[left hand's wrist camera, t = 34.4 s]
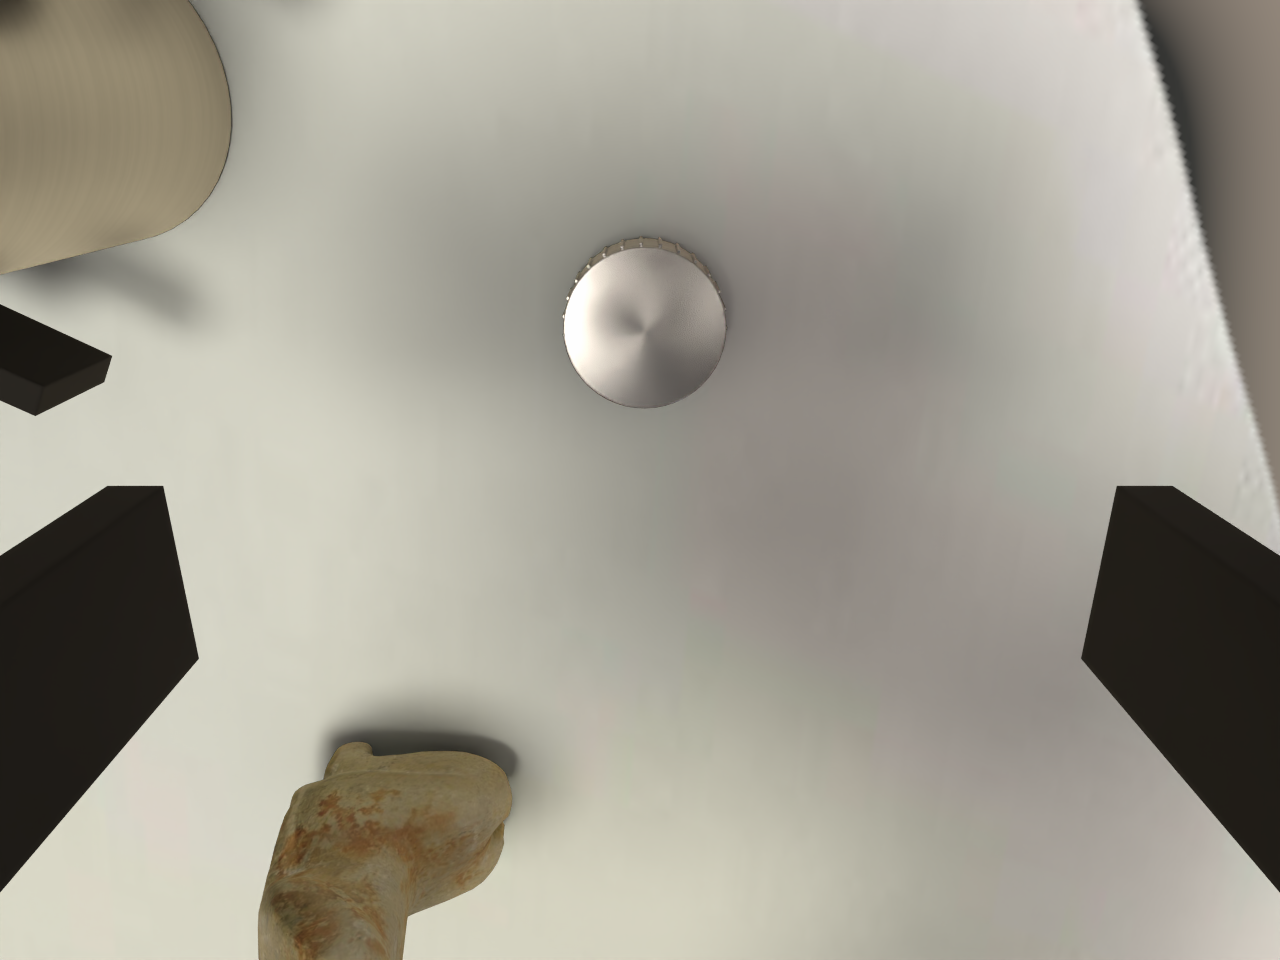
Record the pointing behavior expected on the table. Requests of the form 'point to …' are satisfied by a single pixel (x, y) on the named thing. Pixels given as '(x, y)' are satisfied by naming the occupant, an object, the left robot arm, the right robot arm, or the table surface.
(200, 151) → the bottle
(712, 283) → the cap
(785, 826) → the table surface
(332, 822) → the sculpture
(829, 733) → the table surface
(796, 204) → the table surface
